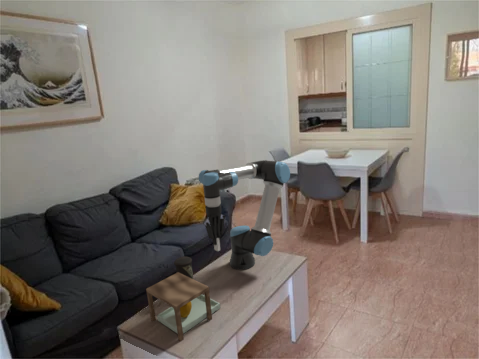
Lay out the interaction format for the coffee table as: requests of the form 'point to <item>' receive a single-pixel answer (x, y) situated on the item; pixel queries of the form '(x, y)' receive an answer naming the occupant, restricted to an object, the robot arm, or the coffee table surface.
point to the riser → (178, 296)
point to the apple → (185, 310)
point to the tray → (192, 319)
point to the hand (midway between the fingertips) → (217, 249)
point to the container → (184, 266)
